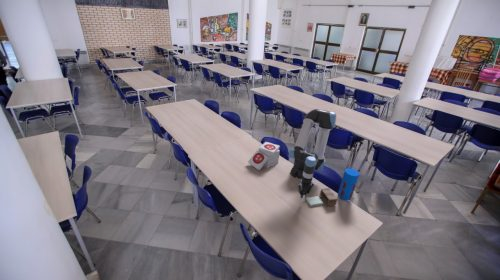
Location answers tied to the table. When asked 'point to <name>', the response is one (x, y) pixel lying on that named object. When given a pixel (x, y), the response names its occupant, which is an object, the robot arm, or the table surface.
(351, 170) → the thermos
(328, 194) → the tan notched block
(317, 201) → the board
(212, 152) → the table surface
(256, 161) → the pizza boxes
